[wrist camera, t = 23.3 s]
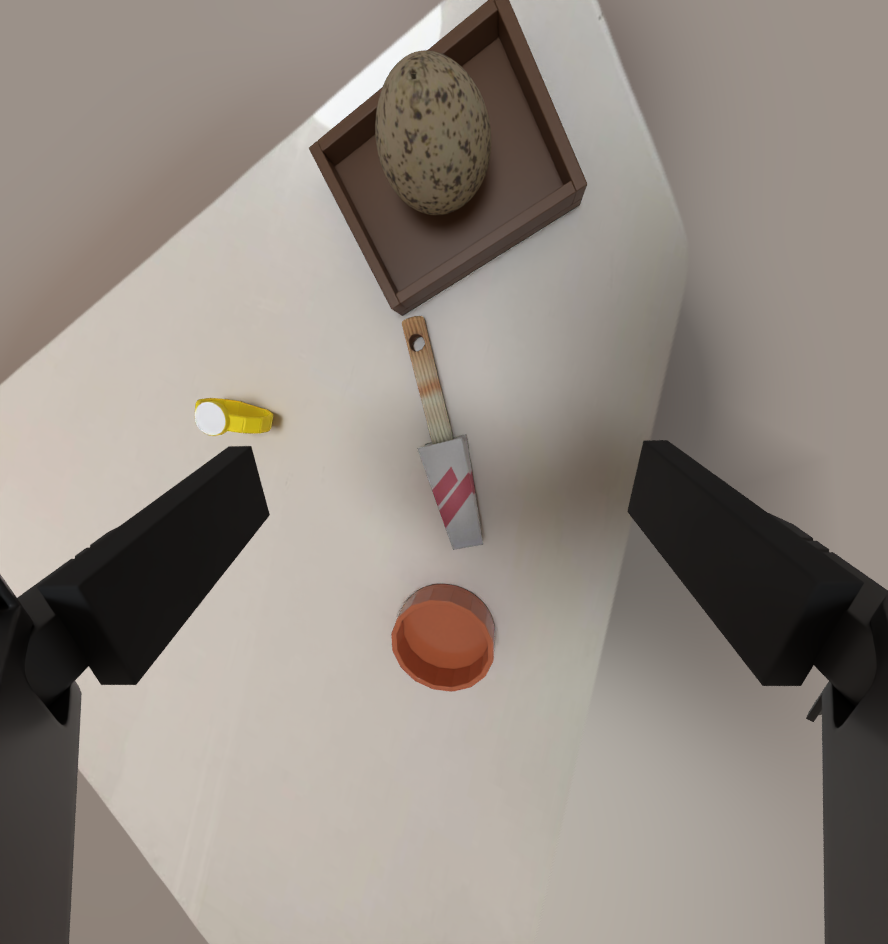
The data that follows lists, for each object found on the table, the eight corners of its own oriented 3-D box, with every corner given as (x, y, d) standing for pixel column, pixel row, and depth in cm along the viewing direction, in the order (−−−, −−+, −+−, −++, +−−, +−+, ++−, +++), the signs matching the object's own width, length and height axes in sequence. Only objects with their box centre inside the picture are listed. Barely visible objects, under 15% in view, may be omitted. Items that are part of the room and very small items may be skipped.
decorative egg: (475, 102, 27) (455, -54, 17) (507, 207, 28) (504, 115, 18) (385, 153, 28) (321, 37, 19) (419, 250, 30) (374, 186, 20)
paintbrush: (444, 557, 33) (386, 322, 30) (449, 545, 35) (397, 328, 33) (487, 550, 32) (432, 308, 29) (489, 539, 35) (439, 316, 32)
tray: (504, 29, 26) (503, -14, 23) (580, 204, 28) (587, 184, 25) (327, 169, 30) (308, 147, 27) (402, 315, 32) (391, 309, 29)
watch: (225, 417, 37) (173, 423, 31) (229, 389, 36) (176, 391, 30) (281, 436, 36) (238, 445, 31) (285, 408, 36) (243, 412, 30)
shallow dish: (510, 609, 36) (510, 628, 33) (472, 682, 39) (469, 706, 36) (419, 568, 37) (411, 584, 34) (388, 643, 40) (378, 664, 37)
